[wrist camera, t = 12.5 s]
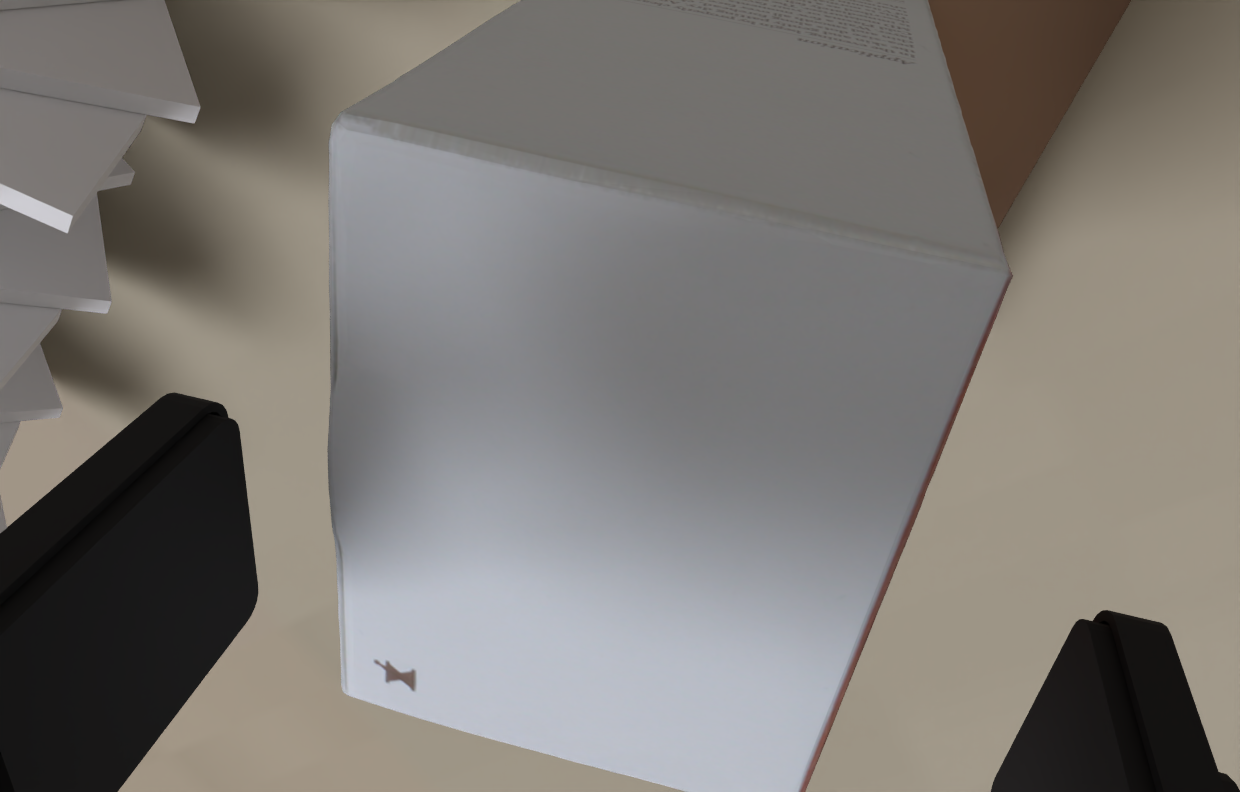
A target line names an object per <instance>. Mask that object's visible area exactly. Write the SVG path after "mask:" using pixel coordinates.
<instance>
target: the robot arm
mask: <svg viewBox="0 0 1240 792" xmlns="http://www.w3.org/2000/svg"><path fill="white" fill-rule="evenodd" d="M257 597H258V581H257V573H256V565H255V556H254V548H253V539H252V531H251V523H250V514H249V506H248V498H247V489H246V481H245V472H244V464H243V456H242V447H241V439H240V431H239V427H238V424H237V423H236V421H235V420H233V419H230V418H228V414H227V411H226V409H225V408H224V406H223V405H221V404H219V403H217V402H213V401H208V400H204V399H200V398H195V397H191V396H187V395H183V394H178V393H169V394H166V395H165V396H163V397H162V398H160V399H159V400H158V401H157V402H155V403H154V404H153V405H152V406H151V407H149V408H148V409H147V410H146V411H145V412H144V413H142V414H141V415H140V416H139V417H138V418H136V419H135V420H134V421H133V422H132V423H130V424H129V425H128V426H127V427H126V428H125V429H123V430H122V431H121V432H120V433H119V434H117V435H116V436H115V437H114V438H113V439H112V440H110V441H109V442H108V443H107V444H106V445H104V446H103V447H102V448H101V449H100V450H98V451H97V452H96V453H95V454H94V455H93V456H91V457H90V458H89V459H88V460H87V461H85V462H84V463H83V464H82V465H81V466H80V467H78V468H77V469H76V470H75V471H74V472H72V473H71V474H70V475H69V476H68V477H67V478H65V479H64V480H63V481H62V482H61V483H59V484H58V485H57V486H56V487H55V488H53V489H52V490H51V491H50V492H49V493H48V494H46V495H45V496H44V497H43V498H42V499H40V500H39V501H38V502H37V503H36V504H35V505H33V506H32V507H31V508H30V509H29V510H27V511H26V512H25V513H24V514H23V515H21V516H20V517H19V518H18V519H17V520H16V521H14V522H13V523H12V524H11V525H10V526H8V527H7V528H6V529H5V530H4V531H3V532H1V533H0V792H118V790H119V789H120V788H121V786H122V785H123V784H124V783H125V781H126V780H127V779H128V777H129V776H130V775H131V773H132V772H133V771H134V769H135V768H136V767H137V765H138V764H139V763H140V762H141V760H142V759H143V758H144V756H145V755H146V754H147V752H148V751H149V750H150V748H151V747H152V746H153V744H154V743H155V742H156V741H157V739H158V738H159V737H160V735H161V734H162V733H163V731H164V730H165V729H166V727H167V726H168V725H169V723H170V722H171V721H172V720H173V718H174V717H175V716H176V714H177V713H178V712H179V710H180V709H181V708H182V706H183V705H184V704H185V702H186V701H187V700H188V699H189V697H190V696H191V695H192V693H193V692H194V691H195V689H196V688H197V687H198V685H199V684H200V683H201V681H202V680H203V679H204V678H205V676H206V675H207V674H208V672H209V671H210V670H211V668H212V667H213V666H214V664H215V663H216V662H217V660H218V659H219V658H220V657H221V655H222V654H223V653H224V651H225V650H226V649H227V647H228V646H229V645H230V643H231V642H232V641H233V639H234V638H235V637H236V636H237V634H238V633H239V632H240V630H241V629H242V628H243V626H244V625H245V624H246V622H247V621H248V619H249V618H250V616H251V615H252V612H253V610H254V608H255V605H256V602H257ZM991 792H1240V790H1239V788H1238V786H1237V784H1236V783H1235V782H1234V781H1233V780H1232V779H1231V778H1230V777H1229V776H1228V775H1227V774H1224V773H1220V772H1218V769H1217V766H1216V763H1215V760H1214V758H1213V755H1212V752H1211V749H1210V746H1209V743H1208V740H1207V737H1206V734H1205V731H1204V729H1203V726H1202V723H1201V720H1200V717H1199V714H1198V711H1197V708H1196V705H1195V702H1194V700H1193V697H1192V694H1191V691H1190V688H1189V685H1188V682H1187V679H1186V676H1185V673H1184V671H1183V668H1182V665H1181V662H1180V659H1179V656H1178V653H1177V650H1176V647H1175V644H1174V642H1173V639H1172V636H1171V634H1170V632H1169V630H1168V628H1167V627H1166V626H1165V625H1164V624H1162V623H1160V622H1155V621H1151V620H1147V619H1143V618H1138V617H1134V616H1130V615H1125V614H1121V613H1117V612H1113V611H1108V610H1103V611H1101V612H1100V613H1098V614H1097V615H1096V617H1095V618H1094V620H1093V621H1089V620H1085V619H1080V620H1078V621H1077V622H1076V623H1075V625H1074V626H1073V628H1072V629H1071V631H1070V633H1069V635H1068V637H1067V639H1066V641H1065V643H1064V645H1063V647H1062V649H1061V651H1060V653H1059V655H1058V657H1057V659H1056V661H1055V662H1054V664H1053V666H1052V668H1051V670H1050V672H1049V674H1048V676H1047V678H1046V680H1045V682H1044V684H1043V686H1042V688H1041V690H1040V692H1039V693H1038V695H1037V697H1036V699H1035V701H1034V703H1033V705H1032V707H1031V709H1030V711H1029V713H1028V715H1027V717H1026V719H1025V721H1024V723H1023V725H1022V726H1021V728H1020V730H1019V732H1018V734H1017V736H1016V738H1015V740H1014V742H1013V744H1012V746H1011V748H1010V750H1009V752H1008V754H1007V756H1006V757H1005V759H1004V761H1003V763H1002V765H1001V767H1000V769H999V771H998V773H997V775H996V777H995V779H994V782H993V785H992V789H991Z"/></svg>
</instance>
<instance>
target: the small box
mask: <svg viewBox="0 0 1240 792" xmlns="http://www.w3.org/2000/svg"><path fill="white" fill-rule="evenodd" d="M1012 277H1013V275H1012V272H1011V270H1010V268H1009V265H1008V263H1007V260H1006V258H1005V255H1004V251H1003V247H1002V243H1001V239H1000V235H999V232H998V229H997V226H996V223H995V220H994V217H993V214H992V211H991V208H990V205H989V200H988V197H987V194H986V190H985V187H984V184H983V181H982V178H981V175H980V171H979V168H978V164H977V160H976V157H975V154H974V150H973V148H972V146H971V142H970V139H969V135H968V131H967V128H966V125H965V122H964V119H963V116H962V111H961V108H960V105H959V102H958V99H957V96H956V93H955V89H954V85H953V82H952V79H951V76H950V72H949V69H948V67H947V63H946V58H945V55H944V53H943V50H942V47H941V42H940V39H939V37H938V31H937V29H936V27H935V23H934V19H933V15H932V13H931V10H930V6H929V2H928V0H521V1H519V2H518V3H516V4H514V5H512V6H511V7H509V8H508V9H506V10H505V11H503V12H501V13H500V14H498V15H496V16H495V17H493V18H491V19H490V20H488V21H487V22H485V23H484V24H482V25H481V26H479V27H477V28H476V29H474V30H473V31H471V32H470V33H468V34H467V35H465V36H464V37H462V38H461V39H459V40H458V41H456V42H454V43H453V44H451V45H450V46H448V47H447V48H445V49H444V50H442V51H440V52H439V53H437V54H436V55H434V56H433V57H431V58H430V59H428V60H426V61H425V62H423V63H422V64H420V65H419V66H417V67H415V68H414V69H412V70H410V71H409V72H407V73H405V74H403V75H402V76H400V77H399V78H398V79H396V80H395V81H394V82H392V83H390V84H389V85H387V86H385V87H383V88H382V89H380V90H378V91H377V92H375V93H373V94H371V95H370V96H368V97H366V98H365V99H363V100H361V101H359V102H358V103H356V104H354V105H352V106H351V107H349V108H347V109H345V110H344V111H342V112H340V114H339V115H338V117H337V118H336V120H335V121H334V122H333V124H332V128H331V133H330V139H329V298H330V374H331V395H330V415H329V434H328V479H329V495H330V506H331V519H332V528H333V533H334V538H335V548H336V558H337V584H338V615H339V629H340V655H341V684H342V689H343V692H344V693H345V694H347V695H348V696H351V697H354V698H357V699H360V700H363V701H366V702H369V703H372V704H376V705H379V706H382V707H385V708H388V709H391V710H394V711H397V712H401V713H404V714H407V715H410V716H413V717H417V718H420V719H423V720H426V721H430V722H433V723H437V724H440V725H444V726H447V727H451V728H454V729H457V730H461V731H464V732H468V733H471V734H475V735H479V736H482V737H486V738H489V739H493V740H497V741H500V742H504V743H507V744H511V745H515V746H519V747H522V748H526V749H530V750H534V751H537V752H541V753H545V754H548V755H552V756H555V757H559V758H562V759H566V760H570V761H573V762H577V763H581V764H585V765H589V766H593V767H597V768H601V769H604V770H607V771H611V772H614V773H618V774H623V775H628V776H631V777H635V778H638V779H642V780H646V781H649V782H653V783H657V784H661V785H664V786H668V787H672V788H675V789H678V790H682V791H686V792H805V791H806V788H807V786H808V783H809V781H810V779H811V776H812V774H813V771H814V769H815V766H816V764H817V762H818V759H819V757H820V754H821V752H822V749H823V747H824V744H825V742H826V739H827V737H828V734H829V732H830V730H831V727H832V725H833V722H834V720H835V717H836V715H837V712H838V710H839V707H840V705H841V702H842V700H843V697H844V695H845V692H846V690H847V687H848V685H849V682H850V680H851V677H852V675H853V672H854V670H855V667H856V665H857V662H858V660H859V657H860V655H861V652H862V650H863V648H864V645H865V643H866V640H867V638H868V635H869V633H870V630H871V628H872V625H873V623H874V620H875V618H876V615H877V613H878V610H879V608H880V605H881V603H882V601H883V598H884V596H885V593H886V591H887V589H888V586H889V584H890V581H891V579H892V576H893V574H894V571H895V569H896V566H897V564H898V561H899V559H900V556H901V554H902V552H903V549H904V547H905V545H906V542H907V540H908V537H909V535H910V532H911V530H912V527H913V525H914V522H915V520H916V517H917V515H918V512H919V510H920V507H921V504H922V502H923V499H924V496H925V493H926V490H927V488H928V485H929V483H930V481H931V478H932V476H933V474H934V471H935V469H936V466H937V464H938V461H939V459H940V456H941V454H942V451H943V449H944V446H945V444H946V441H947V439H948V436H949V433H950V431H951V428H952V426H953V423H954V421H955V418H956V416H957V413H958V411H959V408H960V406H961V403H962V401H963V398H964V396H965V393H966V390H967V388H968V386H969V383H970V381H971V378H972V376H973V373H974V371H975V368H976V366H977V363H978V361H979V358H980V356H981V353H982V351H983V348H984V346H985V343H986V341H987V338H988V336H989V334H990V331H991V329H992V326H993V324H994V321H995V319H996V316H997V314H998V311H999V308H1000V306H1001V303H1002V301H1003V298H1004V295H1005V293H1006V290H1007V288H1008V285H1009V283H1010V281H1011V279H1012Z"/></svg>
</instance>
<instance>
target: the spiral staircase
mask: <svg viewBox="0 0 1240 792" xmlns="http://www.w3.org/2000/svg"><path fill="white" fill-rule="evenodd" d="M200 108H201V107H200V104H199V101H198V98H197V95H196V92H195V89H194V86H193V83H192V80H191V77H190V74H189V71H188V68H187V65H186V62H185V59H184V56H183V53H182V51H181V48H180V45H179V42H178V39H177V36H176V33H175V30H174V27H173V24H172V21H171V18H170V15H169V12H168V9H167V6H166V3H165V0H0V469H1V467H2V464H3V462H4V460H5V458H6V455H7V453H8V451H9V449H10V446H11V444H12V442H13V439H14V437H15V435H16V433H17V430H18V428H19V424H20V421H26V420H37V419H48V418H59V417H60V415H61V412H62V409H63V407H62V404H61V401H60V398H59V395H58V393H57V390H56V387H55V384H54V381H53V378H52V376H51V373H50V370H49V367H48V364H47V361H46V359H45V356H44V353H43V350H42V347H41V344H40V342H41V341H42V340H43V339H44V337H45V336H46V335H47V334H48V333H49V331H50V330H51V329H52V328H53V327H54V325H55V324H56V323H57V322H58V320H59V317H60V314H61V311H62V309H68V310H77V311H87V312H96V313H106V314H107V313H108V310H109V307H110V305H111V302H112V300H111V292H110V285H109V278H108V270H107V263H106V256H105V248H104V241H103V234H102V226H101V219H100V212H99V204H98V197H97V192H98V191H101V190H106V189H111V188H116V187H121V186H126V185H131V183H132V180H133V177H134V174H135V171H134V170H133V169H132V168H131V167H130V166H129V165H128V164H127V163H126V161H125V160H124V159H123V158H122V157H123V155H124V154H125V153H126V151H127V150H128V148H129V147H130V146H131V144H132V143H133V141H134V140H135V139H136V137H137V136H138V134H139V133H140V132H141V130H142V127H143V124H144V121H145V118H146V115H151V116H156V117H162V118H167V119H173V120H178V121H184V122H189V123H195V121H196V118H197V115H198V113H199V110H200ZM6 528H7V526H6V521H5V516H4V511H3V506H2V501H1V496H0V533H1V532H3V531H4V530H5V529H6Z"/></svg>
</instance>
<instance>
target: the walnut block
mask: <svg viewBox="0 0 1240 792" xmlns="http://www.w3.org/2000/svg"><path fill="white" fill-rule="evenodd" d="M928 2H929V6H930V10H931V13H932V15H933V19H934V23H935V27H936V29H937V31H938V37H939V39H940V42H941V47H942V50H943V53H944V55H945V58H946V63H947V67H948V69H949V72H950V76H951V79H952V82H953V85H954V89H955V93H956V96H957V99H958V102H959V105H960V108H961V111H962V116H963V119H964V122H965V125H966V128H967V131H968V135H969V139H970V142H971V146H972V148H973V150H974V154H975V157H976V160H977V164H978V168H979V171H980V175H981V178H982V181H983V184H984V187H985V190H986V194H987V197H988V200H989V205H990V208H991V211H992V214H993V217H994V220H995V223H996V226H997V229H998V228H999V226H1000V224H1001V222H1002V221H1003V219H1004V217H1005V216H1006V214H1007V212H1008V210H1009V209H1010V207H1011V205H1012V204H1013V202H1014V200H1015V198H1016V197H1017V195H1018V193H1019V192H1020V190H1021V188H1022V186H1023V185H1024V183H1025V181H1026V180H1027V178H1028V176H1029V175H1030V173H1031V171H1032V169H1033V168H1034V166H1035V164H1036V163H1037V161H1038V159H1039V157H1040V156H1041V154H1042V152H1043V151H1044V149H1045V147H1046V145H1047V144H1048V142H1049V140H1050V139H1051V137H1052V135H1053V133H1054V132H1055V130H1056V128H1057V127H1058V125H1059V123H1060V121H1061V120H1062V118H1063V116H1064V115H1065V113H1066V111H1067V109H1068V108H1069V106H1070V104H1071V103H1072V101H1073V99H1074V97H1075V96H1076V94H1077V92H1078V91H1079V89H1080V87H1081V85H1082V84H1083V82H1084V80H1085V79H1086V77H1087V75H1088V73H1089V72H1090V70H1091V68H1092V67H1093V65H1094V63H1095V61H1096V60H1097V58H1098V56H1099V55H1100V53H1101V51H1102V50H1103V48H1104V46H1105V44H1106V43H1107V41H1108V39H1109V38H1110V36H1111V34H1112V32H1113V31H1114V29H1115V27H1116V26H1117V24H1118V22H1119V20H1120V19H1121V17H1122V15H1123V14H1124V12H1125V10H1126V8H1127V7H1128V5H1129V3H1130V2H1131V0H928Z"/></svg>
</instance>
